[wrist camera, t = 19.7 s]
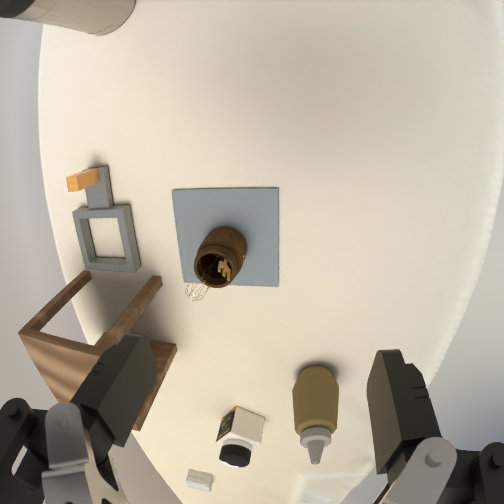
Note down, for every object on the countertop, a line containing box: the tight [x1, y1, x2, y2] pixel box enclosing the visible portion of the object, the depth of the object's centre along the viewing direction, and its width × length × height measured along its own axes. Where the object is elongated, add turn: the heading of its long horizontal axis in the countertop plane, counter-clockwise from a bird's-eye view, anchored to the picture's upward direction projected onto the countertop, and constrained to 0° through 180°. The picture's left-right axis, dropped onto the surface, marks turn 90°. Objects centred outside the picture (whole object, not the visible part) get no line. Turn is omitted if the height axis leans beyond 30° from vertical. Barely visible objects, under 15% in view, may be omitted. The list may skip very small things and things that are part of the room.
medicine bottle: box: [216, 407, 264, 467], centre depth 54 cm, size 7×7×12 cm
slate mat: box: [172, 188, 279, 287], centre depth 41 cm, size 14×14×1 cm
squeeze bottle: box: [292, 366, 339, 464], centre depth 42 cm, size 8×8×18 cm
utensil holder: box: [185, 227, 247, 301], centre depth 36 cm, size 6×6×12 cm
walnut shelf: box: [18, 271, 177, 431], centre depth 42 cm, size 16×16×18 cm
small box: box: [186, 469, 213, 492], centre depth 77 cm, size 8×8×5 cm
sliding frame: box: [66, 166, 141, 272], centre depth 39 cm, size 16×10×6 cm, turn 2°
